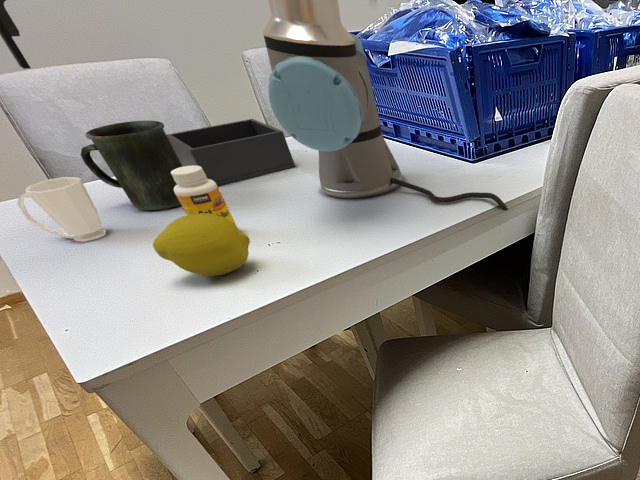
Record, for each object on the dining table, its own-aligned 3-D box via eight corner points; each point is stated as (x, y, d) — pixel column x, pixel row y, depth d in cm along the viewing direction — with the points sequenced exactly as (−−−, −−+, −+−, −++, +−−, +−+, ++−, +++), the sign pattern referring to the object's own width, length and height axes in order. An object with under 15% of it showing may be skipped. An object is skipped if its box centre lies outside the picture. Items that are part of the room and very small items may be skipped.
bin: (295, 166, 97) (282, 131, 92) (209, 188, 88) (190, 150, 83) (265, 151, 105) (252, 118, 100) (184, 170, 96) (165, 134, 92)
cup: (105, 242, 71) (66, 189, 65) (33, 250, 69) (-12, 196, 64) (124, 225, 76) (90, 174, 70) (57, 231, 74) (17, 180, 68)
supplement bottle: (213, 249, 68) (174, 178, 61) (195, 240, 71) (156, 171, 63) (247, 236, 71) (214, 167, 64) (229, 228, 74) (196, 161, 67)
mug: (188, 209, 80) (147, 134, 72) (100, 217, 78) (46, 140, 70) (209, 188, 88) (173, 118, 79) (128, 195, 86) (83, 124, 78)
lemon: (267, 255, 66) (241, 200, 61) (255, 281, 61) (226, 223, 55) (188, 264, 65) (155, 208, 59) (169, 291, 59) (130, 233, 54)
